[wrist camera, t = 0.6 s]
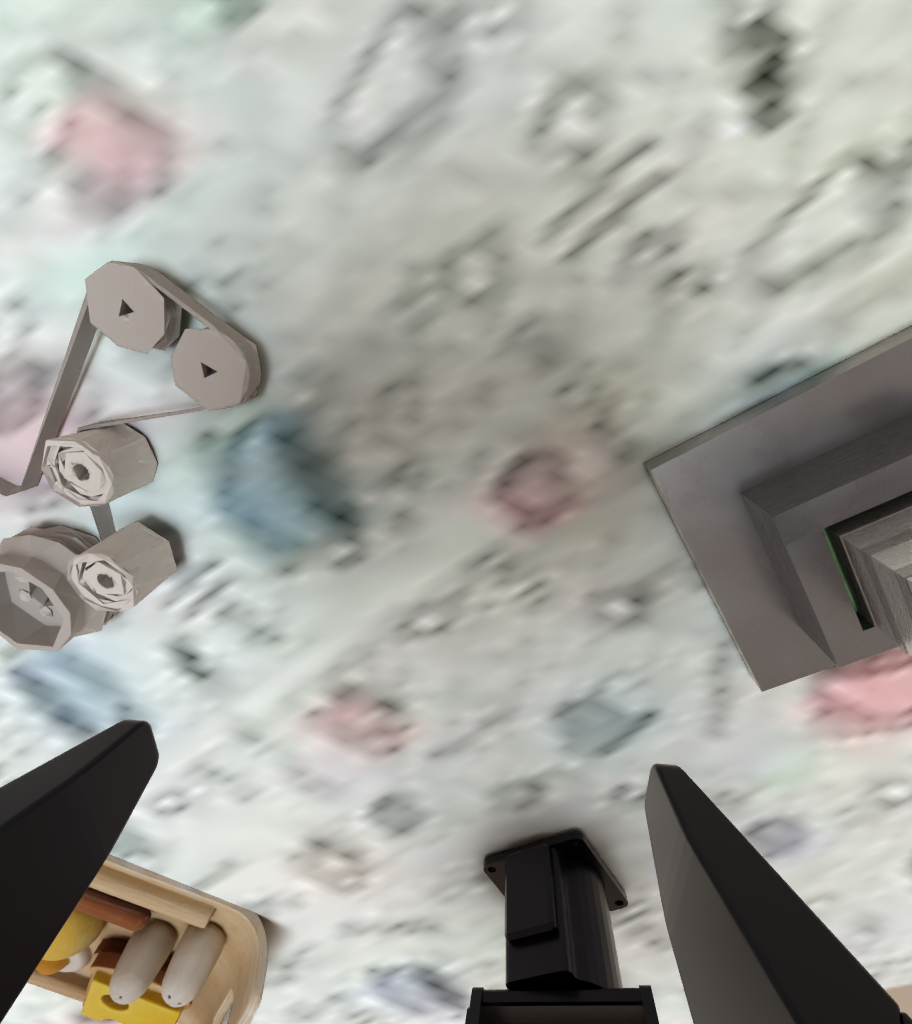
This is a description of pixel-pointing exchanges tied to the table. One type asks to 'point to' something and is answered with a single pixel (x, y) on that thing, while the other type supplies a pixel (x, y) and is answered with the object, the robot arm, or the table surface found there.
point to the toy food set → (156, 952)
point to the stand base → (794, 508)
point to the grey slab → (878, 565)
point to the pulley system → (110, 462)
